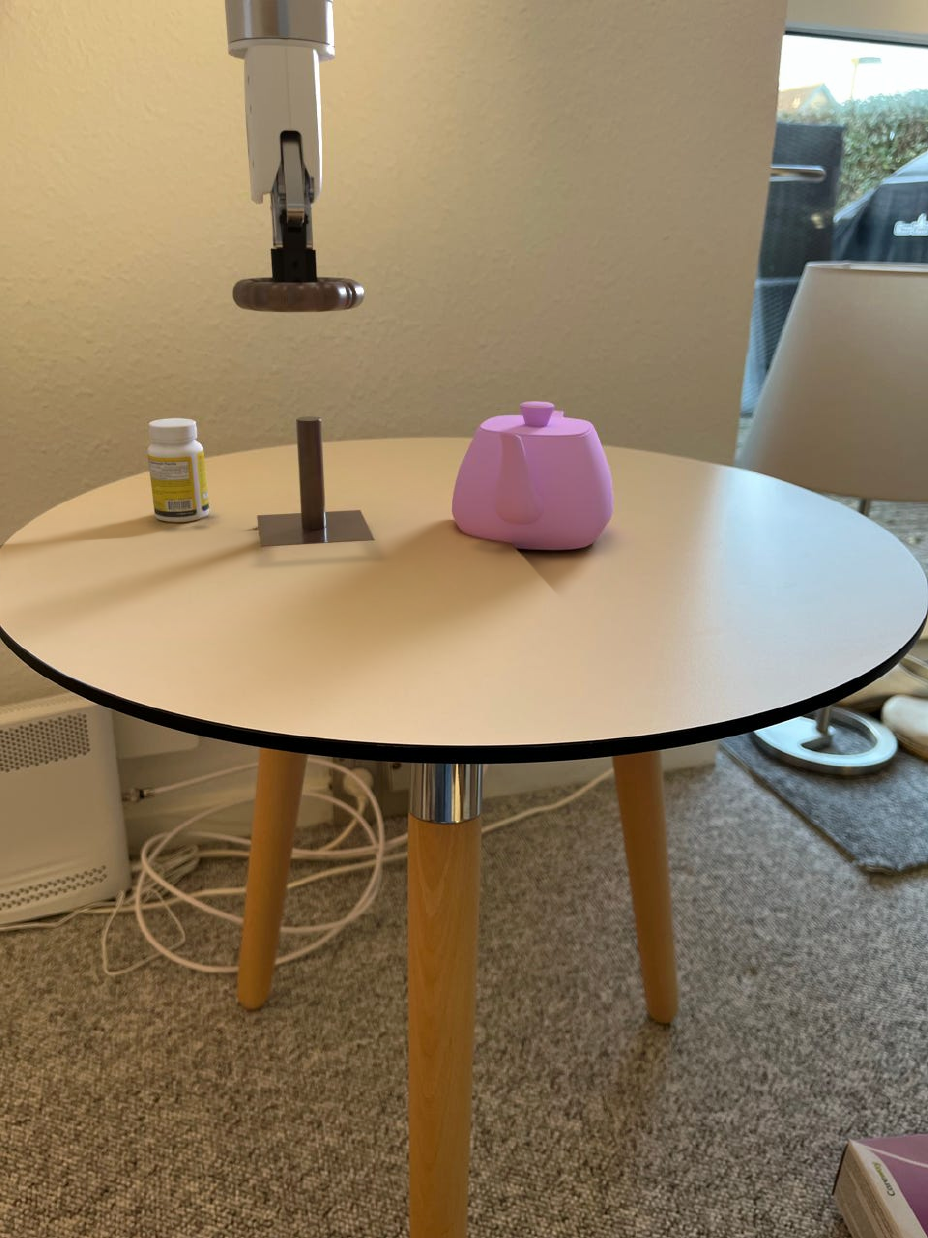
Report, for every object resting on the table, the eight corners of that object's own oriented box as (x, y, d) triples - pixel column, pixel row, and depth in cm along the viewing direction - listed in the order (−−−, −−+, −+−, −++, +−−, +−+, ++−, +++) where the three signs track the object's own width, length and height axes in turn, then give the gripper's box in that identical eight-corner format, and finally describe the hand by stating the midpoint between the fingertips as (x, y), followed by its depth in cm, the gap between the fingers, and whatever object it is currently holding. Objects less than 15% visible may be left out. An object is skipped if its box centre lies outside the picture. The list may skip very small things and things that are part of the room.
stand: (262, 558, 77) (253, 431, 74) (257, 526, 85) (249, 410, 82) (375, 551, 79) (372, 427, 75) (360, 520, 87) (357, 407, 84)
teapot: (420, 565, 76) (419, 421, 72) (483, 500, 94) (485, 382, 90) (592, 581, 73) (601, 432, 69) (623, 511, 91) (632, 389, 87)
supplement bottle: (186, 506, 91) (177, 415, 88) (220, 514, 89) (212, 421, 85) (143, 517, 88) (132, 422, 84) (177, 526, 85) (167, 429, 82)
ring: (233, 314, 68) (231, 283, 68) (233, 303, 77) (231, 276, 76) (370, 312, 70) (369, 283, 69) (355, 301, 79) (355, 275, 78)
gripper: (226, 48, 76) (244, 296, 83) (227, 8, 62) (249, 312, 69) (323, 52, 78) (333, 295, 85) (346, 14, 63) (355, 311, 70)
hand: (295, 301), depth 77 cm, fingers closed on ring, 2 cm apart
